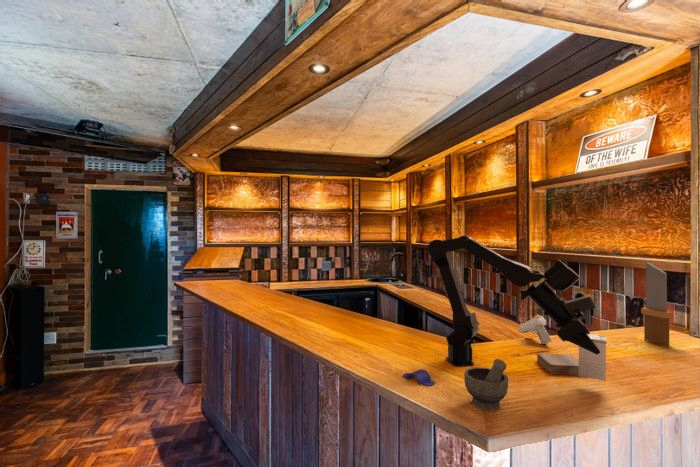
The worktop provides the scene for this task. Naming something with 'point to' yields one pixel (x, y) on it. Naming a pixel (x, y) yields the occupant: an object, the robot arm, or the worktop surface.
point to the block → (559, 363)
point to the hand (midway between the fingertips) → (598, 350)
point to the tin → (593, 359)
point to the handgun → (536, 324)
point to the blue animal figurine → (420, 377)
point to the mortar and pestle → (487, 385)
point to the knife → (656, 306)
